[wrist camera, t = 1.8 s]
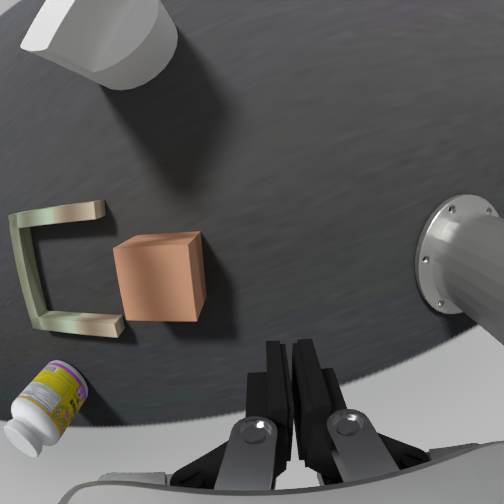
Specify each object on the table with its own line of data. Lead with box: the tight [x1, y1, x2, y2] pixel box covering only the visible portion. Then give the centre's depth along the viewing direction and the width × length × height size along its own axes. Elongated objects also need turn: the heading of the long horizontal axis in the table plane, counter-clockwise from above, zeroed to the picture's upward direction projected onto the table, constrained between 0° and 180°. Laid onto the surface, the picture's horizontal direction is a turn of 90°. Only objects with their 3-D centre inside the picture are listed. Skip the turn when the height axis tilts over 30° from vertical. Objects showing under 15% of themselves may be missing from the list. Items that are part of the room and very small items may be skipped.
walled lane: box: [8, 200, 125, 338], centre depth 26 cm, size 12×13×2 cm
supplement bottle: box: [4, 360, 88, 458], centre depth 24 cm, size 7×7×13 cm
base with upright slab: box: [20, 0, 178, 90], centre depth 15 cm, size 9×9×12 cm
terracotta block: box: [113, 232, 207, 321], centre depth 24 cm, size 6×6×5 cm
